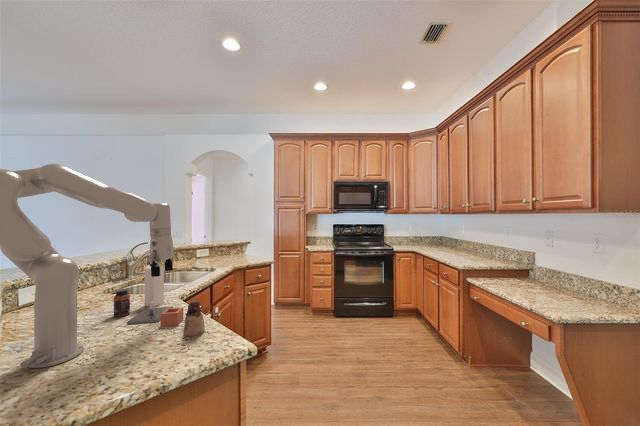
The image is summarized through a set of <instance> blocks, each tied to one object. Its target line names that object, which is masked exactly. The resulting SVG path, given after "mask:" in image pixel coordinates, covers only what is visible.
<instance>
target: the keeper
mask: <svg viewBox="0 0 640 426" xmlns="http://www.w3.org/2000/svg"><path fill="white" fill-rule="evenodd" d="M167 308H174V306H165V307H164V306H162V307H156V306H155V303H154V302H150V303H149V306H148V308H145V309H143V310H142V311H140V312H138V313H137V314H135V315H134V316H133V317H132V318H131V319H129V320H128V321H127V322H126V325H136V324H146V323H147V324H148V323H150V324H151V323H159V322H161V313H162V312H163V311H165V310H166V309H167Z"/></svg>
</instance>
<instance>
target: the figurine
mask: <svg viewBox="0 0 640 426" xmlns="http://www.w3.org/2000/svg"><path fill="white" fill-rule="evenodd" d="M200 304H201V302H200V301H197V300H192V301H191V302H190V303H188V305H187V306H188V307H187V311H186V313H185V318H184V327H183V336H184V337H190V338H191V337H197V336H200V335H201V334H203V333H204V332H205V328H206V327H205V321H204V316H203V313H202V309H201V306H200Z"/></svg>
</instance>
